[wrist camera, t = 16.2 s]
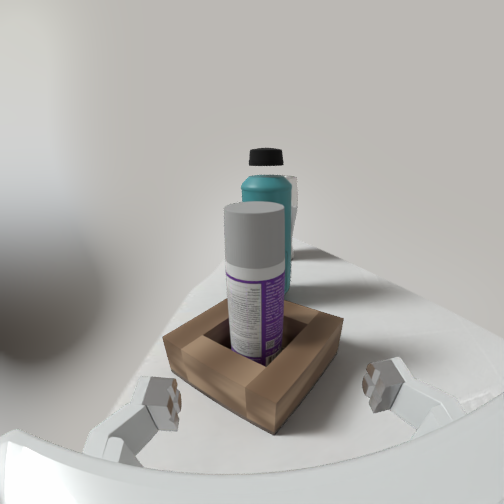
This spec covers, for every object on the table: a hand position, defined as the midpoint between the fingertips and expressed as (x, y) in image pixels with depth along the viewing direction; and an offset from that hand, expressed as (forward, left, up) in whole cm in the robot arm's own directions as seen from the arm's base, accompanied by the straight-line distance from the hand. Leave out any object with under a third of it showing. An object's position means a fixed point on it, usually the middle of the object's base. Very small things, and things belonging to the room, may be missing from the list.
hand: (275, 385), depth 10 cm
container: (+8, -9, -10) cm, 16 cm away
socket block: (+8, -9, -11) cm, 16 cm away
